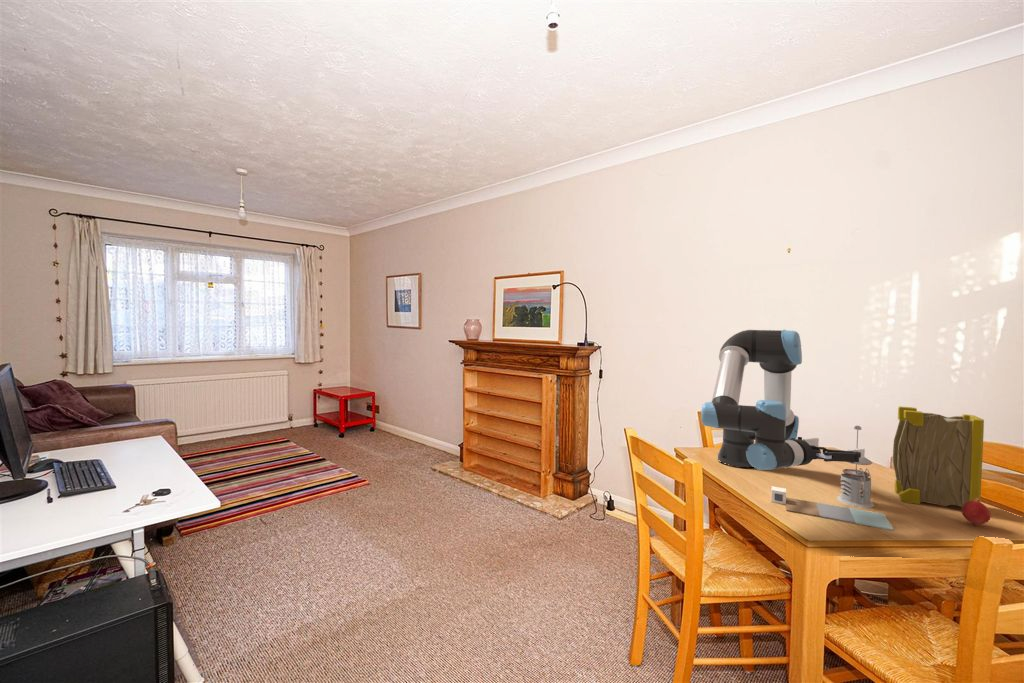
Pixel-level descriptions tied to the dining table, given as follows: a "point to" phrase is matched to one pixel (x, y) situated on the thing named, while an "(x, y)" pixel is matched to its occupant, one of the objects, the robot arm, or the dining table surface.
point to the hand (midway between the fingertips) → (839, 447)
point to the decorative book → (938, 457)
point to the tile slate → (835, 512)
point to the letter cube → (778, 495)
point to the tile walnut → (802, 507)
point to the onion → (976, 512)
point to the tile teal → (870, 519)
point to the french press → (856, 484)
